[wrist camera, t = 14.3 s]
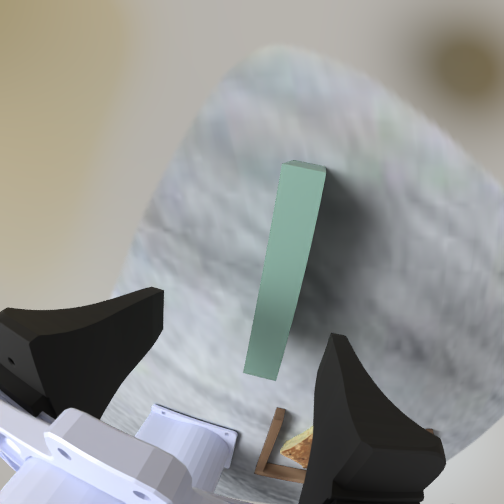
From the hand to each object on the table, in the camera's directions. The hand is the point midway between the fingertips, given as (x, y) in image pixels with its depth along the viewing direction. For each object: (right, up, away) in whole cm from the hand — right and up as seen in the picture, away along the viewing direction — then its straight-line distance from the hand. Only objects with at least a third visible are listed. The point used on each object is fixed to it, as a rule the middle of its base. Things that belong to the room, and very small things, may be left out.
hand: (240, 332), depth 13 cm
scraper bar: (+3, +3, +9) cm, 10 cm away
